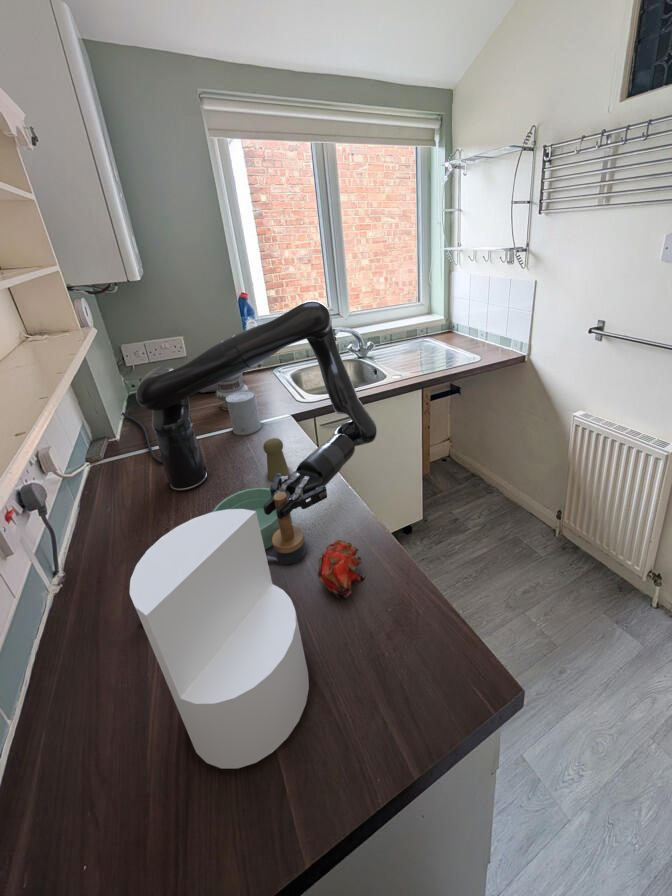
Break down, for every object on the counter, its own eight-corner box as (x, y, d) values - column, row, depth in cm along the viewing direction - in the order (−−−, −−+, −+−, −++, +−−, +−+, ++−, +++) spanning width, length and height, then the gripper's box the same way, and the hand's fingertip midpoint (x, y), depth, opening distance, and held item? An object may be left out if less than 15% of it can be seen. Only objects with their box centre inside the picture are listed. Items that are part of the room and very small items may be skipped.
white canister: (227, 432, 138) (219, 400, 133) (245, 420, 146) (238, 389, 142) (249, 436, 135) (242, 403, 130) (267, 423, 143) (260, 392, 138)
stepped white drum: (161, 733, 57) (94, 590, 46) (246, 626, 71) (210, 497, 60) (258, 796, 50) (206, 645, 39) (330, 663, 64) (306, 526, 54)
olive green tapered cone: (284, 481, 110) (277, 447, 106) (263, 480, 111) (256, 446, 107) (292, 469, 116) (287, 435, 111) (273, 467, 117) (267, 434, 113)
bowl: (199, 544, 90) (193, 523, 88) (251, 500, 103) (246, 481, 101) (254, 567, 83) (249, 545, 81) (302, 517, 96) (298, 497, 94)
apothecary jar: (221, 414, 152) (211, 370, 145) (216, 403, 161) (206, 361, 154) (254, 406, 157) (245, 362, 150) (246, 396, 167) (238, 355, 160)
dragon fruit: (343, 560, 85) (350, 616, 75) (307, 551, 82) (310, 608, 72) (364, 534, 83) (375, 589, 73) (329, 524, 79) (334, 579, 69)
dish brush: (268, 559, 85) (255, 501, 79) (288, 537, 90) (278, 482, 84) (293, 569, 82) (282, 510, 76) (312, 546, 87) (303, 490, 82)
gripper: (295, 446, 94) (241, 489, 80) (346, 458, 88) (297, 507, 74) (299, 472, 97) (248, 519, 83) (349, 486, 91) (303, 538, 77)
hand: (272, 513), depth 79 cm, fingers closed on dish brush, 2 cm apart
